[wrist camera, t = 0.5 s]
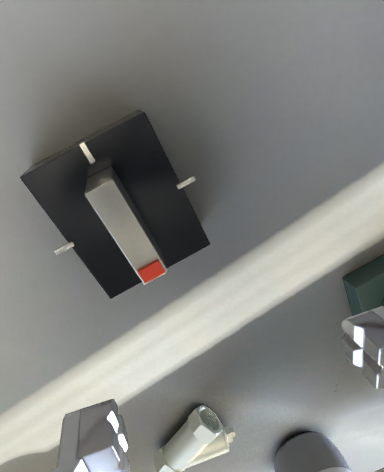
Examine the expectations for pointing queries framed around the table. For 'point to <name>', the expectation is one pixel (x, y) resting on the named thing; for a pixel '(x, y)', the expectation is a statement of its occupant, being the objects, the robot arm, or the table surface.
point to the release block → (366, 287)
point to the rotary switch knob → (125, 224)
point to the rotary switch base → (136, 185)
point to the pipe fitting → (194, 442)
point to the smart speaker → (309, 455)
